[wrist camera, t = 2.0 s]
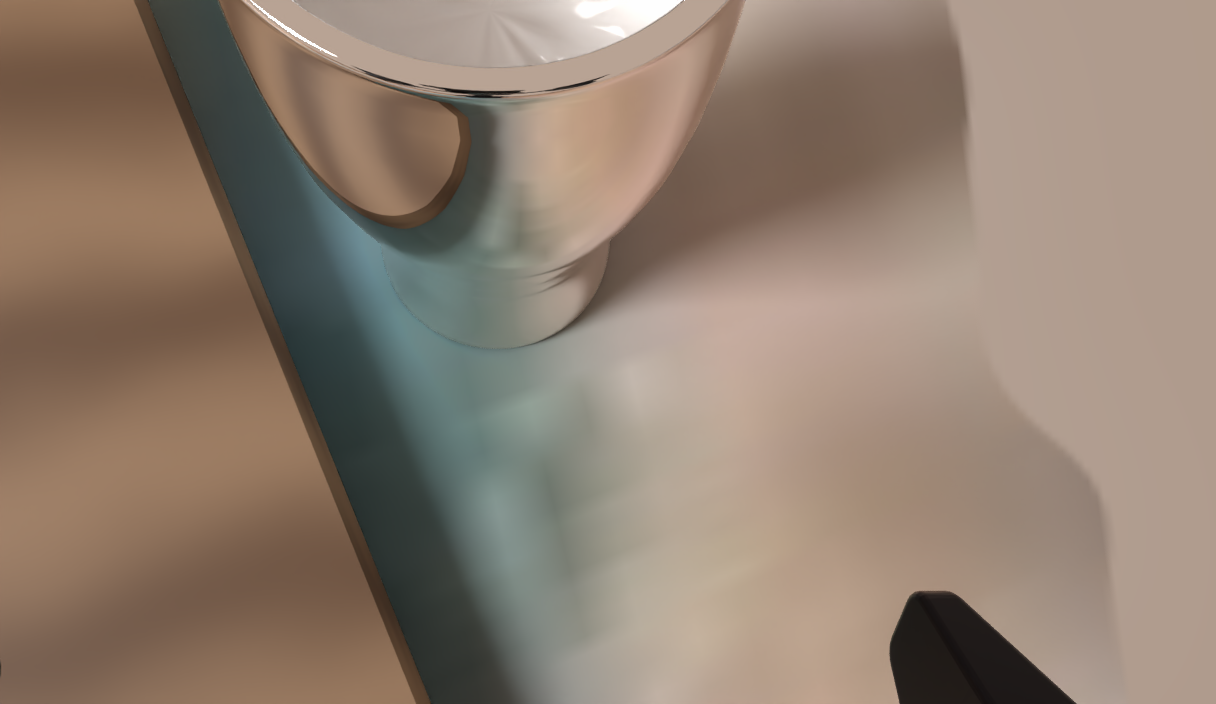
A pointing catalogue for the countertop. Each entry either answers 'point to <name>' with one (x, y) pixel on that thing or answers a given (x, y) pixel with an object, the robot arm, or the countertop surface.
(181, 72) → the countertop surface
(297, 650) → the walnut board
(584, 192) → the beer glass
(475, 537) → the countertop surface
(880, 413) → the countertop surface
